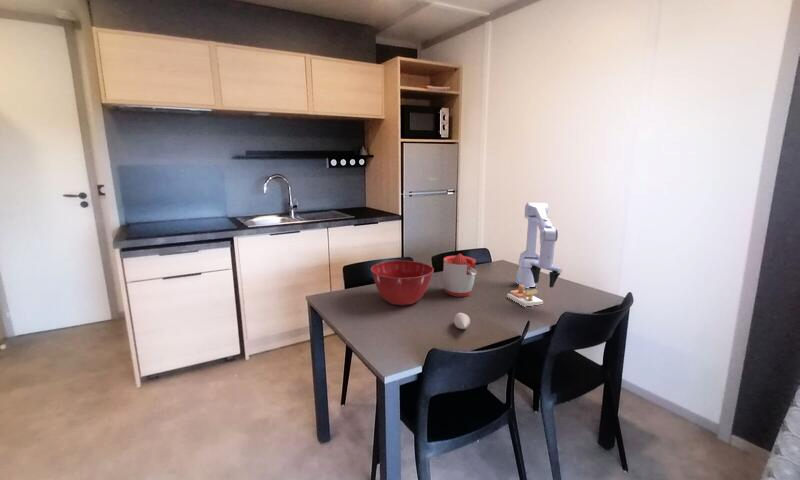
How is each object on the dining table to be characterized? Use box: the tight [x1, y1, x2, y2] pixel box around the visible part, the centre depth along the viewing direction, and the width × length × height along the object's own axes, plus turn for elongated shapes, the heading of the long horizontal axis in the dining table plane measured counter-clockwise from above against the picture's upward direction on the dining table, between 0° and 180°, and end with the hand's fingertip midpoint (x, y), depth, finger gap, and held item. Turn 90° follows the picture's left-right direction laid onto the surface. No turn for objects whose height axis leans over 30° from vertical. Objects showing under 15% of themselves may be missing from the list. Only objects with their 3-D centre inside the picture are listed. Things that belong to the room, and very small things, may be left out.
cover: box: [509, 285, 528, 298], centre depth 182 cm, size 7×7×5 cm
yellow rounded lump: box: [523, 288, 538, 301], centre depth 177 cm, size 6×6×5 cm
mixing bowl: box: [370, 260, 435, 306], centre depth 177 cm, size 28×28×16 cm
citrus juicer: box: [442, 253, 478, 298], centre depth 186 cm, size 16×17×20 cm
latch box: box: [506, 293, 544, 308], centre depth 180 cm, size 13×10×2 cm
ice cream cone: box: [453, 312, 471, 330], centre depth 148 cm, size 6×6×15 cm
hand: (543, 284), depth 173 cm, fingers open, 7 cm apart
